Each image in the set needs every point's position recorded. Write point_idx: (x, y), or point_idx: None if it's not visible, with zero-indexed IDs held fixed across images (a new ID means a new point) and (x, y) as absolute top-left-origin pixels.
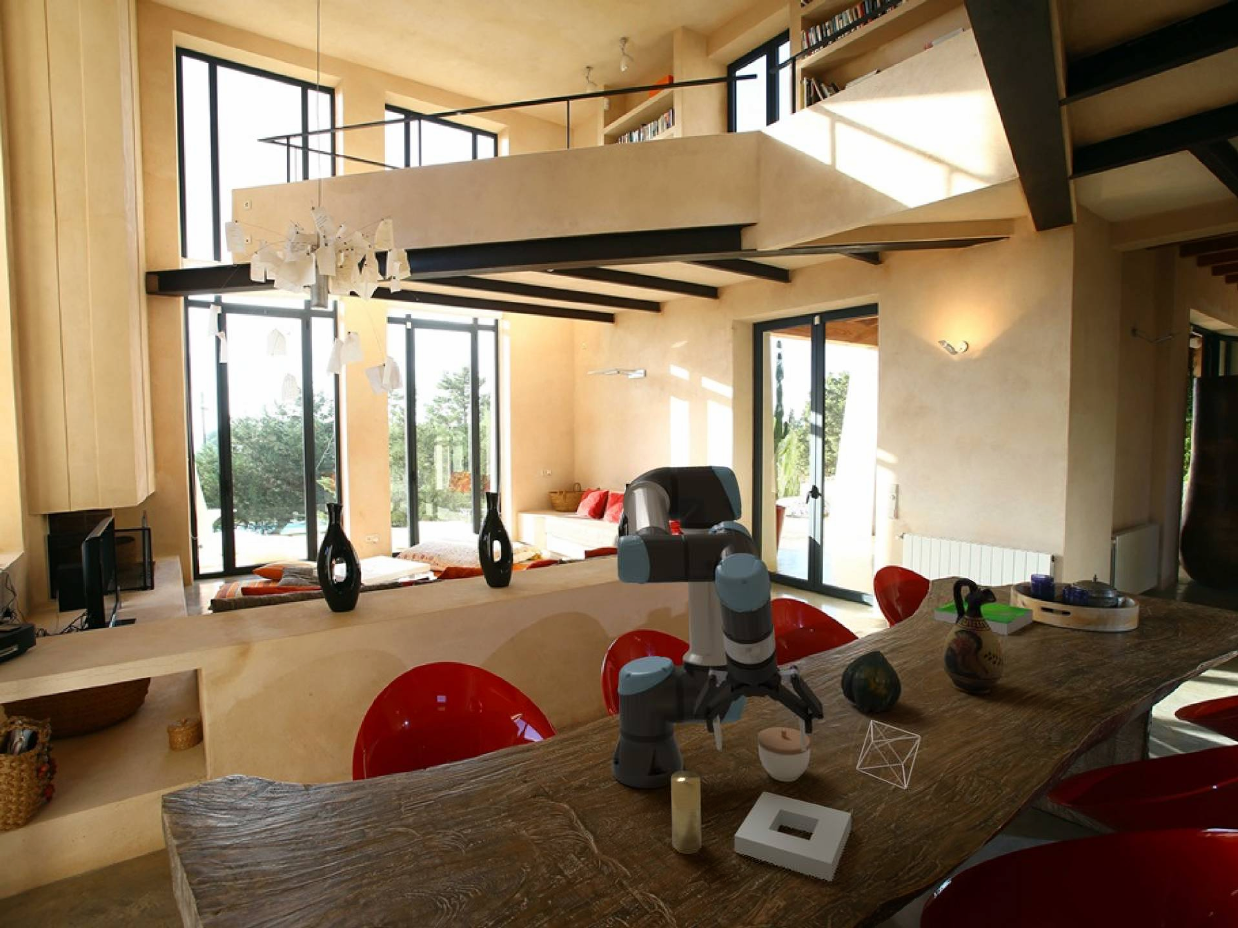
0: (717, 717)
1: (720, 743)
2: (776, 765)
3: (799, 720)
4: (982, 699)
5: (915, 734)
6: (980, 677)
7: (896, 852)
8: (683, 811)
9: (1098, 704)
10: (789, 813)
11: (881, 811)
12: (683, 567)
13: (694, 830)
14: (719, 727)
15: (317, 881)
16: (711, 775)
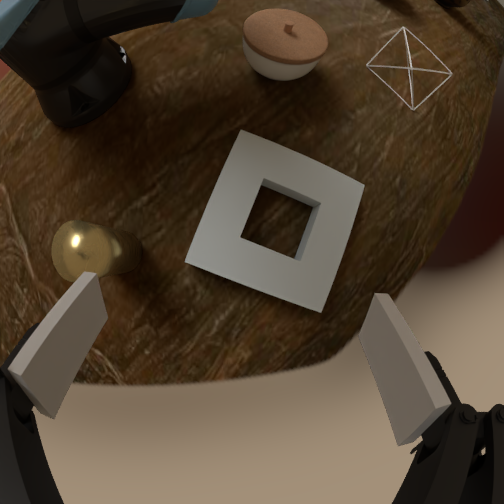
0: (41, 405)
1: (95, 337)
2: (267, 71)
3: (404, 438)
4: (446, 12)
5: (448, 69)
6: (454, 2)
7: (394, 236)
8: None
9: (496, 49)
10: (277, 184)
11: (389, 150)
12: None
13: (122, 270)
14: (67, 347)
15: None
16: (169, 75)
